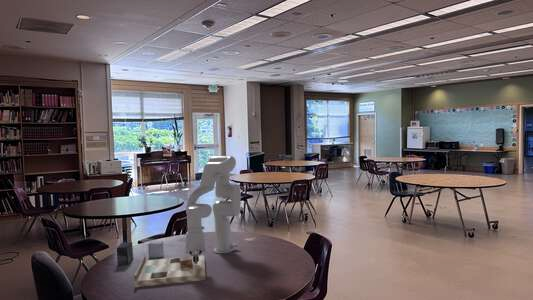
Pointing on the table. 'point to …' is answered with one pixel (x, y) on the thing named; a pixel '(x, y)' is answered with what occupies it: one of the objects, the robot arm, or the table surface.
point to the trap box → (168, 272)
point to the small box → (124, 253)
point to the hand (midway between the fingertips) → (196, 262)
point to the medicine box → (155, 249)
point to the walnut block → (186, 262)
